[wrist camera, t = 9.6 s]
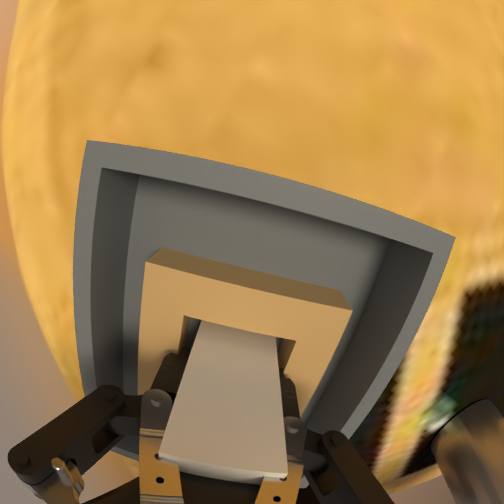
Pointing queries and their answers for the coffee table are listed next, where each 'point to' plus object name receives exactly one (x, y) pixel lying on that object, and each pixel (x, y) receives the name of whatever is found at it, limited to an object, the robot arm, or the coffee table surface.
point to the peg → (228, 408)
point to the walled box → (244, 277)
